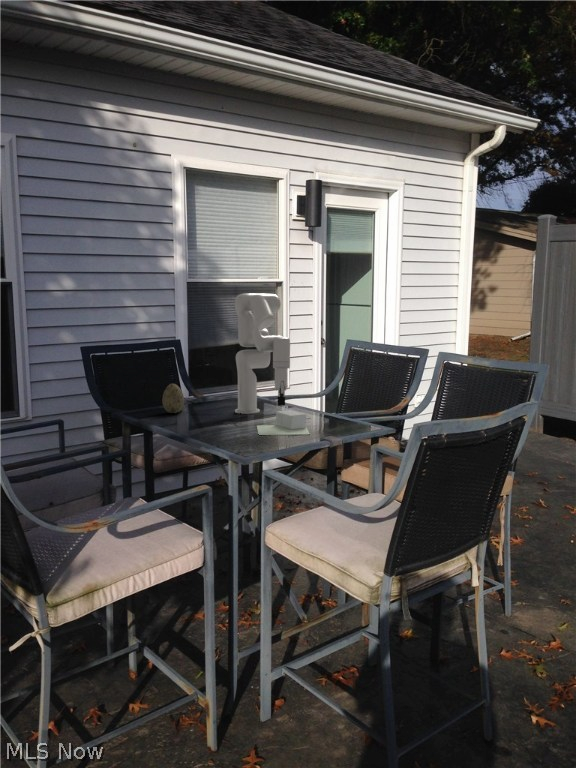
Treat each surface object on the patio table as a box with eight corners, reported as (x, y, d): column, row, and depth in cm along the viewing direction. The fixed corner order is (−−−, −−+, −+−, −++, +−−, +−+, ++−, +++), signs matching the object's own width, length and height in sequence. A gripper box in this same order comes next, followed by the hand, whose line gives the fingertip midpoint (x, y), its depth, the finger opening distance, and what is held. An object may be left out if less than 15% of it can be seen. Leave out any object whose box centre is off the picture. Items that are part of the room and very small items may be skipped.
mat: (256, 426, 308) (256, 425, 308) (304, 425, 310) (304, 424, 310) (258, 435, 288) (258, 434, 288) (310, 434, 290) (310, 433, 290)
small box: (275, 425, 309) (290, 429, 298) (275, 411, 308) (290, 415, 297) (290, 423, 313) (306, 428, 302) (290, 409, 313) (306, 414, 302)
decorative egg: (162, 411, 344) (161, 382, 342) (183, 411, 346) (183, 382, 344) (162, 415, 333) (162, 385, 331) (184, 414, 335) (184, 384, 333)
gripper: (271, 363, 309) (271, 402, 311) (274, 366, 294) (274, 408, 297) (288, 362, 310) (288, 402, 312) (291, 366, 295) (291, 408, 297)
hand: (281, 405), depth 304 cm, fingers closed
